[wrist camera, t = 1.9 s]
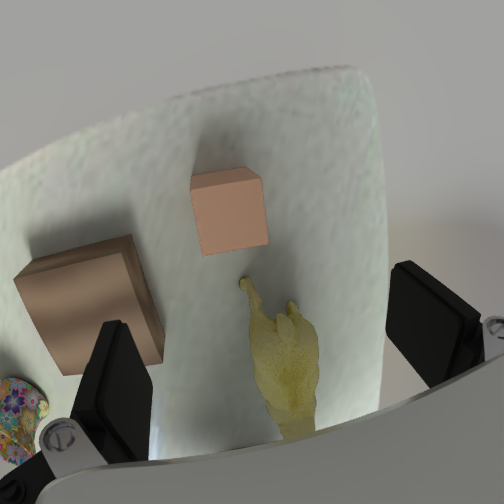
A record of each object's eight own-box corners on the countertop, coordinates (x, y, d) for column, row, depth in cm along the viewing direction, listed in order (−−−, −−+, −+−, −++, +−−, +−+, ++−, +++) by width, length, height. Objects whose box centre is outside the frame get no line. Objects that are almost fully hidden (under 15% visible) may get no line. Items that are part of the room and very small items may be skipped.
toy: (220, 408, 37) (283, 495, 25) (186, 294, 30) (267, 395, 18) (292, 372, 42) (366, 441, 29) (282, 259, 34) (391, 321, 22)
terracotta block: (252, 218, 30) (268, 244, 24) (200, 227, 30) (202, 256, 24) (246, 166, 28) (261, 178, 22) (191, 175, 28) (189, 190, 22)
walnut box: (165, 333, 34) (162, 363, 29) (74, 348, 33) (63, 375, 28) (131, 233, 29) (121, 252, 25) (33, 258, 28) (13, 279, 24)
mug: (-9, 369, 32) (-37, 419, 22) (38, 374, 33) (13, 432, 23) (23, 422, 36) (6, 470, 26) (68, 428, 38) (55, 482, 28)
